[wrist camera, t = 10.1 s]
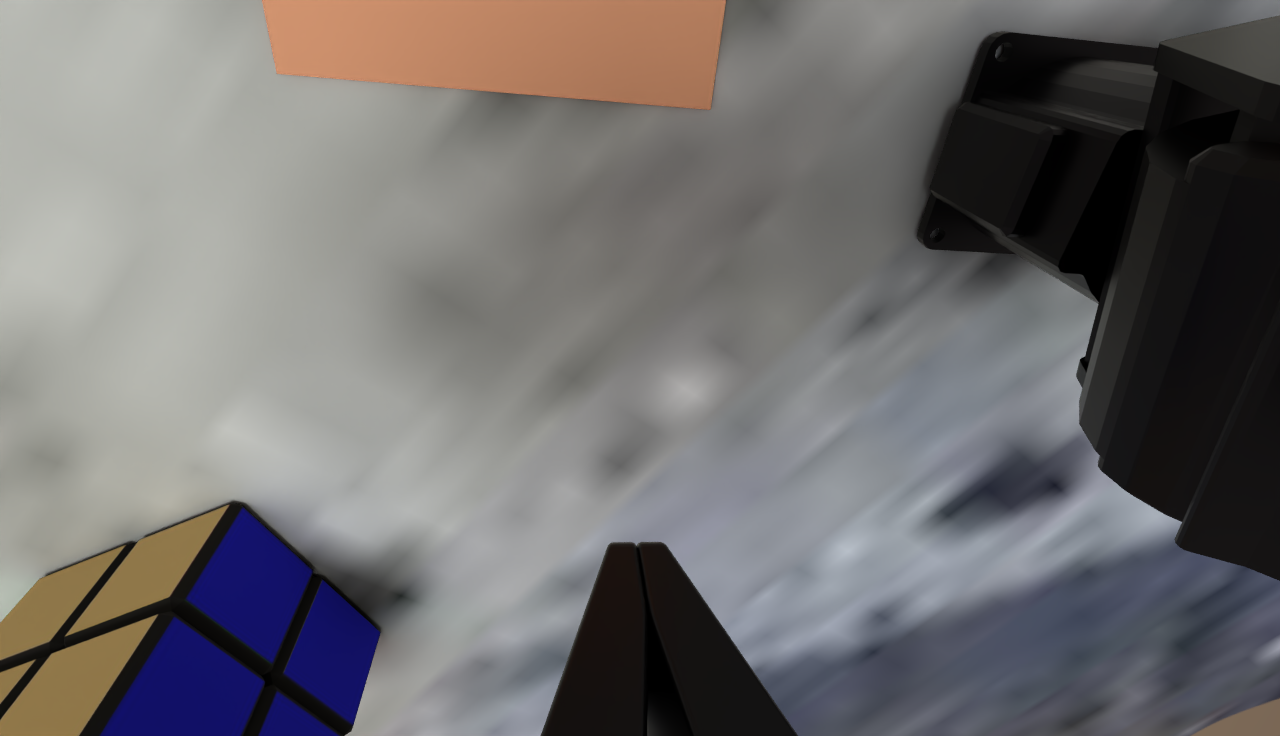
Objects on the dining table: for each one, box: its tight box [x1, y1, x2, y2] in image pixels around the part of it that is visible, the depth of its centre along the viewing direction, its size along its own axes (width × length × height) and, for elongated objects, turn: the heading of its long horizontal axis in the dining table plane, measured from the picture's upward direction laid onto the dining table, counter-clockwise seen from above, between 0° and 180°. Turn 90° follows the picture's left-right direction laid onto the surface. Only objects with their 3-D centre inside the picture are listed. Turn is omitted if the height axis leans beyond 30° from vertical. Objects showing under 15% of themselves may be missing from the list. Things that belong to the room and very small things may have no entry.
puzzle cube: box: [0, 504, 380, 736], centre depth 23 cm, size 10×10×10 cm
